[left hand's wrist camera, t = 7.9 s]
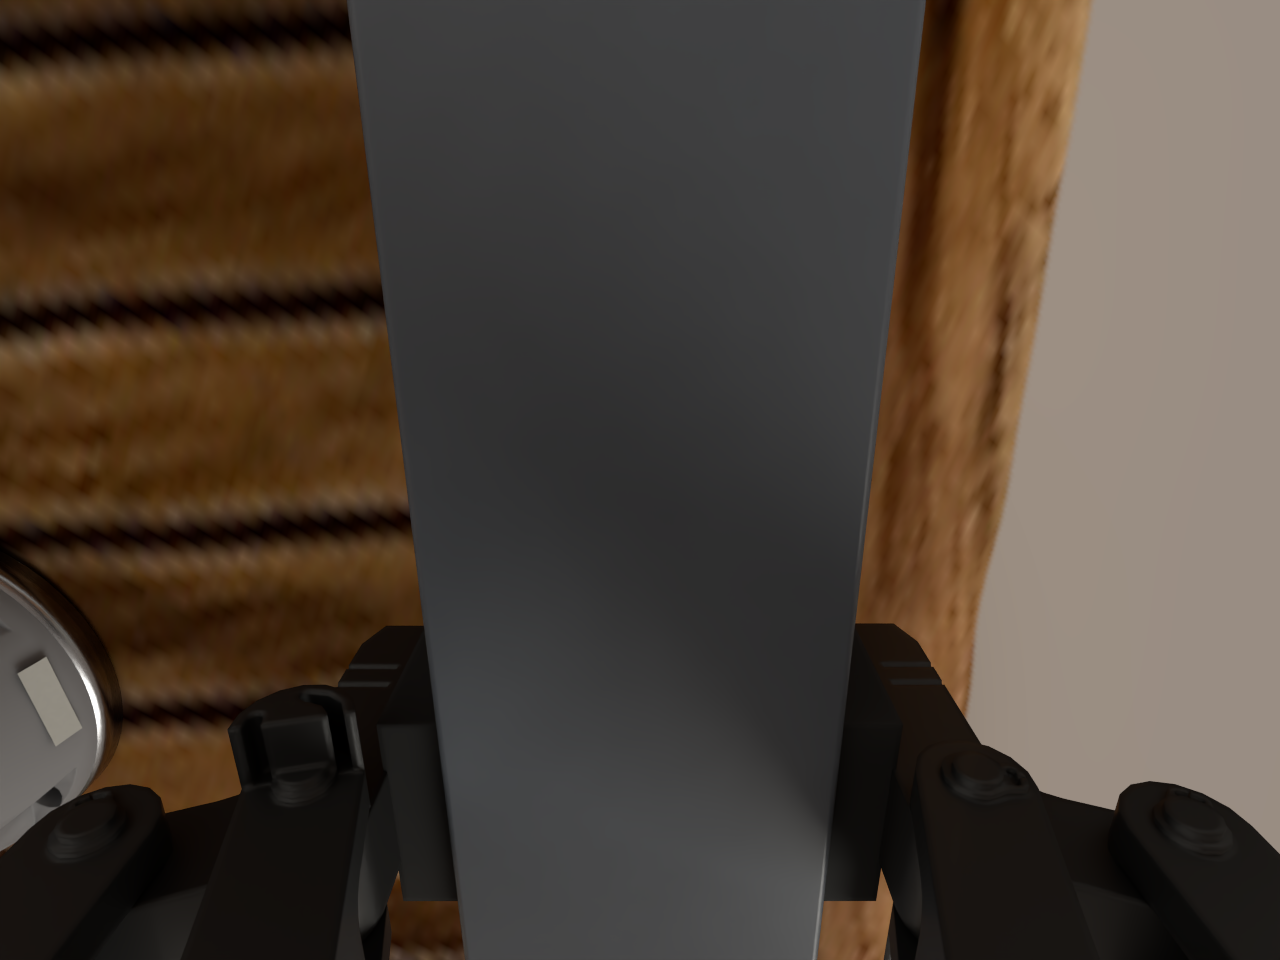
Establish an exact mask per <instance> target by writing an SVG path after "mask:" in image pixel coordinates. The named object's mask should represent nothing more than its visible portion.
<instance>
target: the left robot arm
mask: <svg viewBox="0 0 1280 960" xmlns="http://www.w3.org/2000/svg"><path fill="white" fill-rule="evenodd" d="M122 720H123V709H122V699H121V692H120V688H119V684H118V680H117V676H116V674H115V671H114V668H113V666H112V663H111V661H110V659H109V657H108V655H107V653H106V651H105V649H104V647H103V645H102V644H101V642H100V640H99V639H98V637H97V635H96V634H95V632H94V631H93V630H92V628H91V627H90V626H89V624H88V623H87V621H86V620H85V619H84V618H83V617H82V615H81V614H80V613H79V612H78V611H77V610H76V608H75V607H74V606H73V605H72V604H71V603H70V602H69V601H68V600H67V599H66V598H65V597H64V596H63V595H62V594H61V593H60V592H59V591H57V590H56V589H55V588H54V587H53V586H52V585H50V584H49V583H48V582H47V581H46V580H45V579H43V578H42V577H40V576H39V575H38V574H36V573H35V572H34V571H32V570H31V569H30V568H28V567H27V566H25V565H23V564H22V563H20V562H19V561H17V560H16V559H14V558H12V557H11V556H9V555H7V554H5V553H3V552H1V551H0V851H1V850H3V849H5V848H6V847H8V846H10V845H12V844H13V843H15V842H16V843H15V844H14V845H13V846H12V847H11V848H10V849H9V850H8V851H7V852H6V853H5V854H4V855H3V856H2V857H1V858H0V960H389V955H390V943H391V926H390V919H389V913H388V907H387V902H388V899H389V896H390V893H391V890H392V887H393V885H394V882H395V879H396V876H397V873H398V871H399V875H400V882H401V888H402V894H403V901H458V898H457V890H456V882H455V874H454V865H453V857H452V849H451V841H450V833H449V825H448V817H447V809H446V801H445V792H444V784H443V776H442V768H441V760H440V752H439V744H438V736H437V728H436V720H435V711H434V703H433V695H432V687H431V679H430V671H429V663H428V655H427V647H426V639H425V630H424V626H385V627H384V628H383V629H381V630H380V631H379V632H377V633H376V634H375V635H373V636H372V637H371V638H370V639H368V640H367V641H366V642H364V643H363V644H362V645H361V647H360V648H359V650H358V652H357V653H356V655H355V656H354V658H353V660H352V661H351V663H350V665H349V669H346V671H345V673H344V674H343V676H342V678H341V679H340V681H339V682H338V687H332V686H328V685H302V686H298V687H293V688H289V689H285V690H280V691H278V692H276V693H273V694H271V695H269V696H267V697H264V698H262V699H260V700H258V701H256V702H255V703H253V704H252V705H251V706H249V707H248V708H246V709H245V710H244V711H242V712H241V713H240V714H238V716H237V717H236V719H235V720H234V721H233V723H232V724H231V726H230V727H229V728H228V734H229V738H230V742H231V746H232V750H233V754H234V758H235V763H236V767H237V771H238V775H239V779H240V783H241V787H242V790H241V793H240V794H239V795H237V796H233V797H230V798H227V799H223V800H220V801H217V802H212V803H208V804H204V805H200V806H195V807H191V808H187V809H182V810H178V811H174V812H169V813H165V811H164V808H163V804H162V801H161V798H160V797H159V796H158V795H157V794H156V793H155V792H154V791H153V790H151V789H150V788H148V787H142V786H137V785H131V784H129V785H121V786H113V787H105V788H102V789H99V790H96V791H93V792H90V793H87V794H84V795H82V794H83V793H84V791H85V790H86V789H87V788H88V787H89V786H90V785H91V784H92V783H93V782H94V781H95V780H96V779H97V778H98V777H99V776H100V774H101V773H102V772H103V771H104V769H105V768H106V767H107V765H108V764H109V762H110V760H111V759H112V757H113V755H114V753H115V750H116V748H117V745H118V742H119V738H120V734H121V729H122ZM881 869H882V871H883V874H884V877H885V880H886V883H887V885H888V888H889V891H890V894H891V896H892V899H893V907H892V913H891V919H890V925H889V931H888V937H887V943H886V949H885V955H884V960H1280V854H1279V853H1278V852H1277V851H1276V850H1275V849H1274V848H1273V847H1272V846H1271V845H1270V844H1269V843H1268V842H1267V841H1266V840H1265V839H1264V838H1263V837H1262V836H1261V835H1260V834H1259V833H1258V832H1257V831H1256V830H1255V829H1254V828H1253V827H1252V826H1251V825H1250V824H1249V823H1247V822H1246V821H1245V820H1244V819H1243V818H1241V817H1240V816H1239V815H1238V814H1236V813H1235V812H1234V811H1233V810H1231V809H1230V808H1229V807H1227V806H1225V805H1223V804H1221V803H1219V802H1218V801H1216V800H1214V799H1212V798H1210V797H1208V796H1206V795H1204V794H1203V793H1200V792H1197V791H1194V790H1191V789H1188V788H1185V787H1182V786H1179V785H1176V784H1169V783H1161V782H1152V781H1148V782H1143V783H1137V784H1132V785H1130V786H1129V787H1128V788H1126V789H1125V790H1124V791H1123V792H1122V793H1121V794H1120V795H1119V799H1118V802H1117V806H1116V809H1115V810H1110V809H1106V808H1102V807H1098V806H1093V805H1089V804H1085V803H1080V802H1076V801H1072V800H1067V799H1063V798H1060V797H1056V796H1053V795H1050V794H1046V793H1043V792H1041V791H1039V789H1038V787H1037V785H1036V784H1035V782H1034V781H1033V779H1032V778H1031V776H1030V774H1029V773H1028V771H1026V770H1025V769H1024V768H1023V767H1022V766H1020V765H1019V764H1018V763H1017V762H1016V761H1014V760H1013V759H1012V758H1011V757H1009V756H1007V755H1005V754H1003V753H1001V752H999V751H997V750H995V749H993V748H991V747H989V746H985V745H981V743H980V741H979V740H978V738H977V737H976V735H975V733H974V732H973V730H972V729H971V727H970V725H969V724H968V722H967V721H966V719H965V717H964V716H963V714H962V712H961V711H960V709H959V708H958V706H957V704H956V703H955V701H954V700H953V698H952V696H951V695H950V693H949V691H948V690H947V688H946V687H945V685H942V680H941V679H940V677H939V675H938V674H937V672H936V670H935V669H934V667H931V662H930V661H929V659H928V658H927V656H926V654H925V653H924V651H923V649H922V648H921V646H920V645H919V643H918V642H917V641H916V640H915V639H913V638H912V637H911V636H909V635H908V634H907V633H905V632H904V631H903V630H901V629H900V628H899V627H897V626H896V625H895V624H855V629H854V638H853V647H852V656H851V664H850V673H849V682H848V691H847V700H846V708H845V717H844V726H843V735H842V744H841V753H840V761H839V770H838V779H837V788H836V797H835V805H834V814H833V823H832V832H831V841H830V850H829V858H828V867H827V876H826V885H825V894H824V901H876V898H877V891H878V885H879V878H880V872H881Z"/></svg>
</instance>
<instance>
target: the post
mask: <svg viewBox="0 0 1280 960" xmlns="http://www.w3.org/2000/svg"><path fill="white" fill-rule="evenodd" d="M925 3H926V0H347V6H348V14H349V23H350V31H351V39H352V47H353V55H354V63H355V71H356V79H357V87H358V96H359V104H360V112H361V120H362V128H363V136H364V144H365V152H366V160H367V168H368V177H369V185H370V193H371V201H372V209H373V217H374V225H375V233H376V241H377V250H378V258H379V266H380V274H381V282H382V290H383V298H384V306H385V314H386V322H387V331H388V339H389V347H390V355H391V363H392V371H393V379H394V387H395V395H396V403H397V412H398V420H399V428H400V436H401V444H402V452H403V460H404V468H405V476H406V485H407V493H408V501H409V509H410V517H411V525H412V533H413V541H414V549H415V557H416V566H417V574H418V582H419V590H420V598H421V606H422V614H423V622H424V630H425V639H426V647H427V655H428V663H429V671H430V679H431V687H432V695H433V703H434V711H435V720H436V728H437V736H438V744H439V752H440V760H441V768H442V776H443V784H444V792H445V801H446V809H447V817H448V825H449V833H450V841H451V849H452V857H453V865H454V874H455V882H456V890H457V898H458V906H459V914H460V922H461V930H462V938H463V946H464V955H465V960H817V955H818V947H819V938H820V929H821V920H822V911H823V902H824V894H825V885H826V876H827V867H828V858H829V850H830V841H831V832H832V823H833V814H834V805H835V797H836V788H837V779H838V770H839V761H840V753H841V744H842V735H843V726H844V717H845V708H846V700H847V691H848V682H849V673H850V664H851V656H852V647H853V638H854V629H855V620H856V611H857V603H858V594H859V585H860V576H861V567H862V559H863V550H864V541H865V532H866V523H867V514H868V506H869V497H870V488H871V479H872V470H873V462H874V453H875V444H876V435H877V426H878V417H879V409H880V400H881V391H882V382H883V373H884V365H885V356H886V347H887V338H888V329H889V320H890V312H891V303H892V294H893V285H894V276H895V268H896V259H897V250H898V241H899V232H900V223H901V215H902V206H903V197H904V188H905V179H906V171H907V162H908V153H909V144H910V135H911V126H912V118H913V109H914V100H915V91H916V82H917V74H918V65H919V56H920V47H921V38H922V29H923V21H924V12H925Z"/></svg>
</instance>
